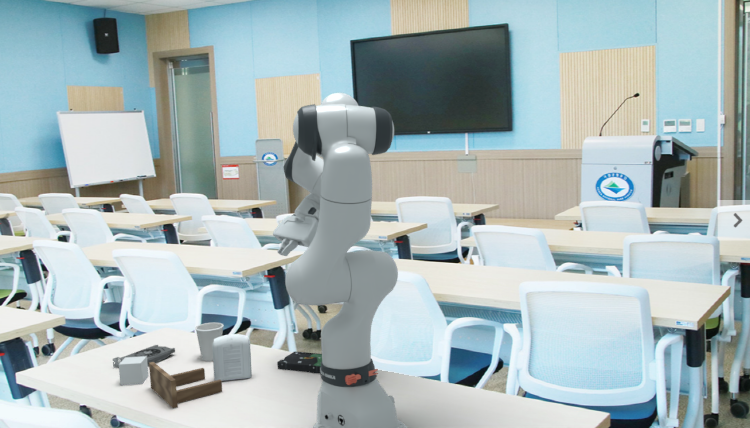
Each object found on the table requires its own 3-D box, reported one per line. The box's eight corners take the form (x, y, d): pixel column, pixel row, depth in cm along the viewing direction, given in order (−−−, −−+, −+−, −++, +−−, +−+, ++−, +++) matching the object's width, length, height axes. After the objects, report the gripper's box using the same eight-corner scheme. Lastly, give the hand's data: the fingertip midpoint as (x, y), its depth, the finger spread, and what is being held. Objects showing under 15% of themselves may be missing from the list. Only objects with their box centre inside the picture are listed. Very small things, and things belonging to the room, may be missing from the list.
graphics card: (140, 363, 191) (111, 357, 197) (141, 376, 191) (112, 369, 197) (183, 346, 206) (155, 341, 211) (183, 358, 206) (155, 353, 212)
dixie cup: (217, 363, 197) (214, 330, 196) (192, 362, 200) (189, 329, 198) (230, 354, 205) (228, 322, 204) (206, 353, 207) (204, 321, 206)
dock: (225, 394, 172) (223, 368, 172) (173, 408, 164) (170, 381, 164) (200, 375, 187) (198, 351, 186) (150, 388, 179) (148, 362, 178)
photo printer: (251, 373, 187) (249, 330, 186) (252, 378, 183) (249, 334, 182) (214, 377, 185) (211, 334, 184) (214, 383, 181) (211, 338, 180)
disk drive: (277, 371, 190) (323, 375, 184) (276, 362, 190) (323, 365, 184) (294, 360, 200) (339, 363, 194) (294, 350, 199) (338, 354, 194)
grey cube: (126, 378, 188) (125, 357, 188) (148, 376, 189) (146, 356, 188) (120, 385, 182) (118, 364, 182) (142, 384, 183) (140, 363, 182)
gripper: (285, 206, 196) (257, 243, 191) (321, 210, 179) (291, 251, 175) (299, 220, 199) (272, 256, 194) (336, 225, 182) (306, 265, 178)
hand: (281, 254), depth 184 cm, fingers closed
